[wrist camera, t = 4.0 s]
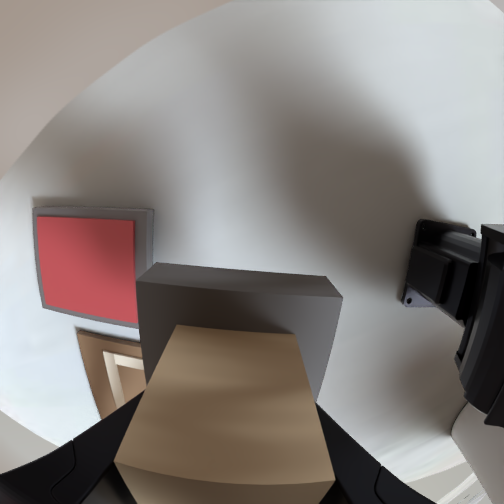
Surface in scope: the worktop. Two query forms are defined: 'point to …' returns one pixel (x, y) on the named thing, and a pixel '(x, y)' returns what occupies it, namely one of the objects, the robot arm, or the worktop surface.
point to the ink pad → (92, 260)
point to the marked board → (112, 370)
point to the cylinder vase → (482, 450)
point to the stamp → (230, 387)
